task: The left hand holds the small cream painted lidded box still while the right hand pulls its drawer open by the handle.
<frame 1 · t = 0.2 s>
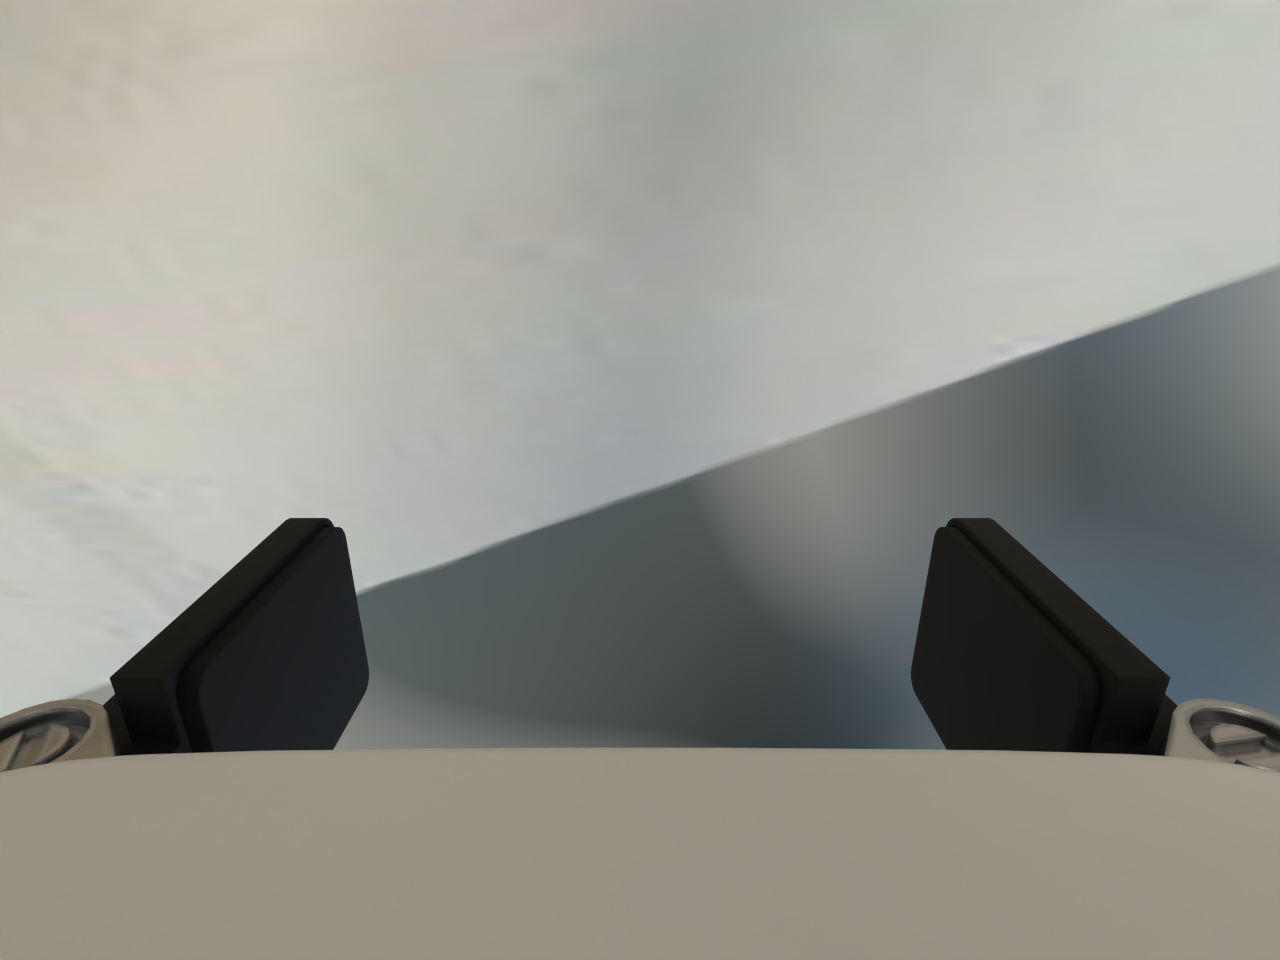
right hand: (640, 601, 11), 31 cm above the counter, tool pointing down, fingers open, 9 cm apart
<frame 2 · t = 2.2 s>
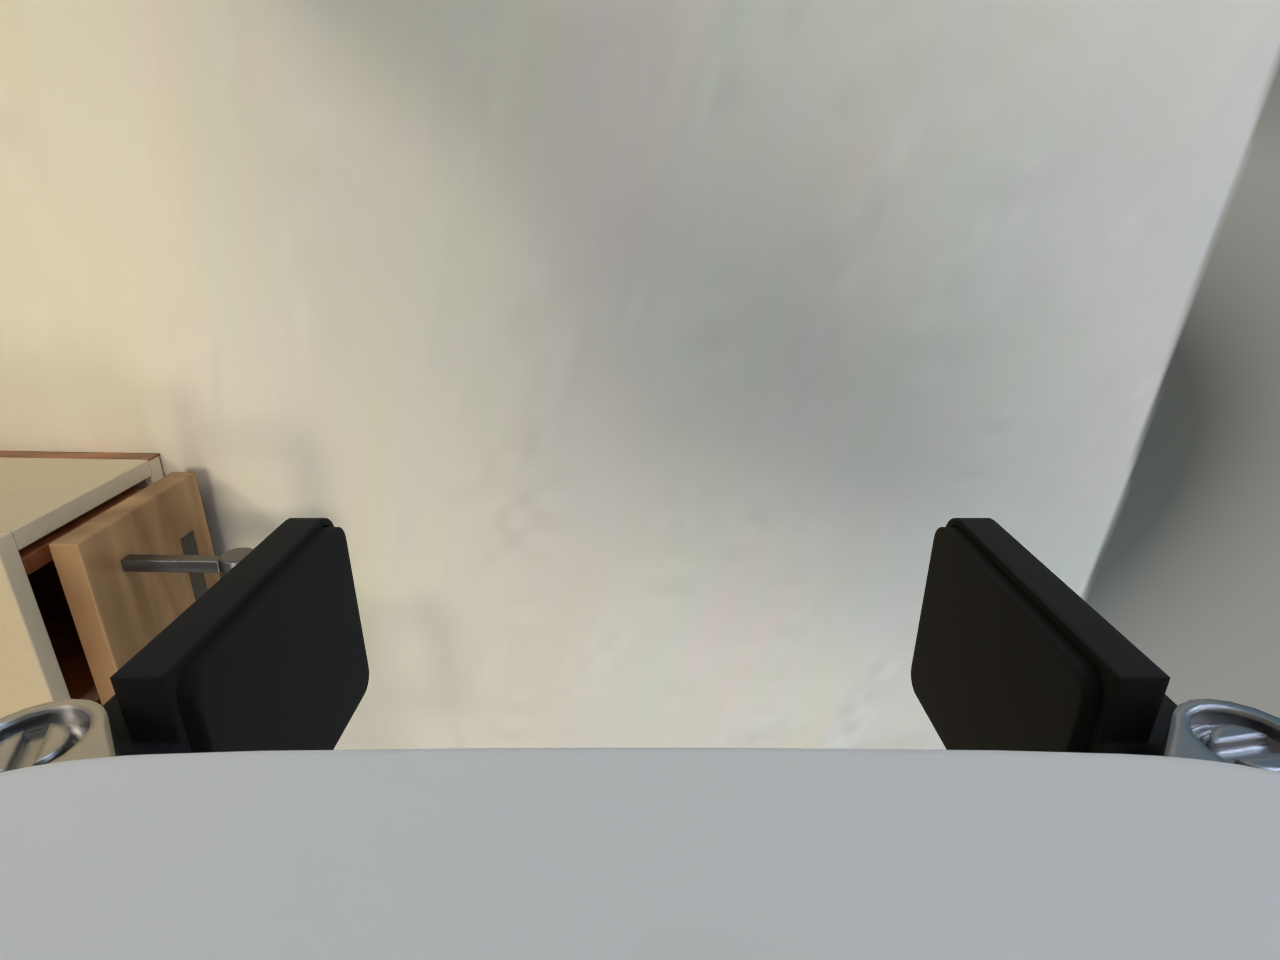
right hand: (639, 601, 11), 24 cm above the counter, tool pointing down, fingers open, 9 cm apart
drawer: (104, 595, 33), point 5 cm above the counter, slide at 1.1 cm
lidded box: (63, 546, 38), on the counter
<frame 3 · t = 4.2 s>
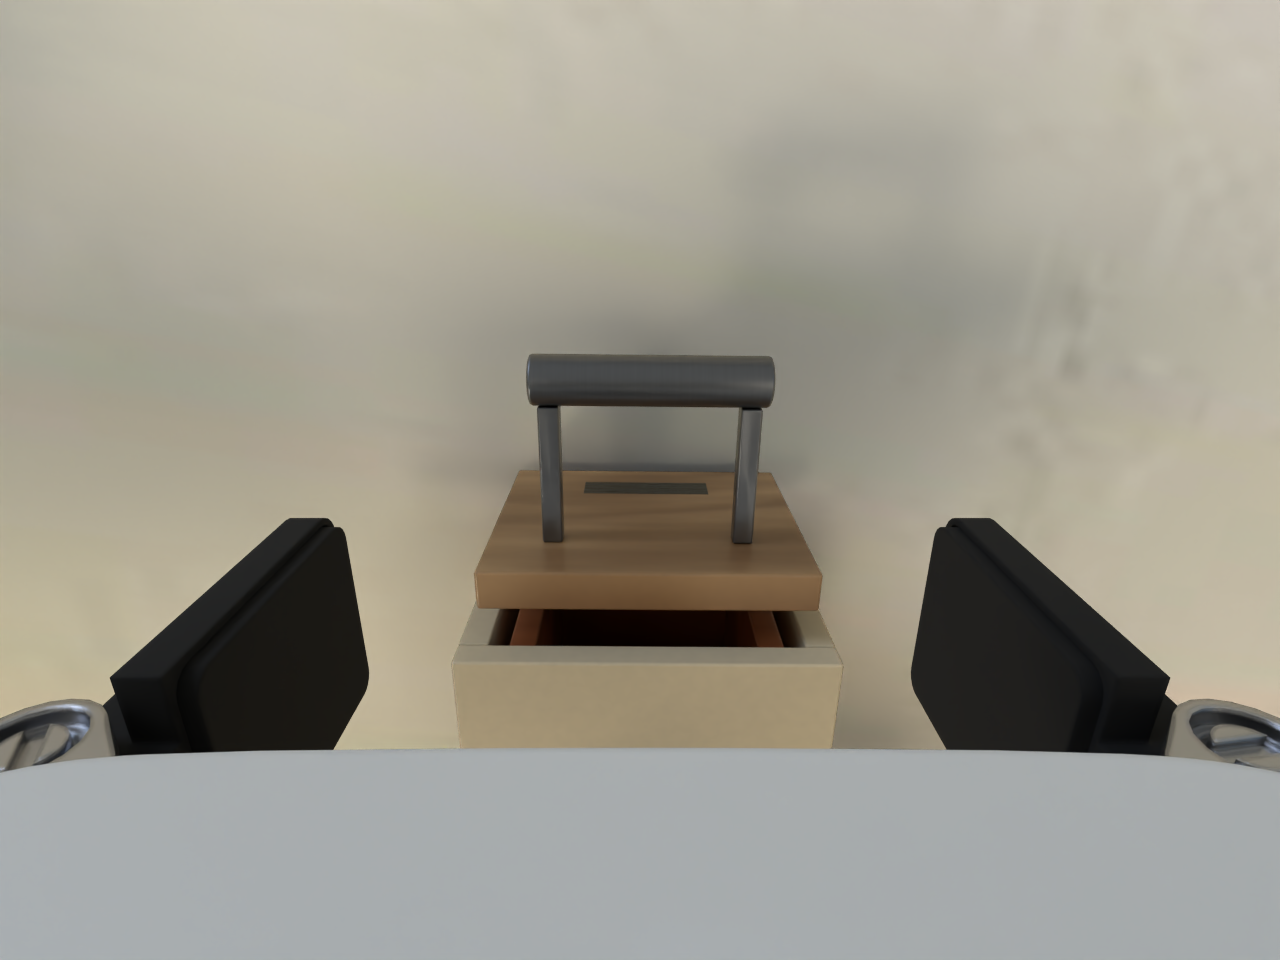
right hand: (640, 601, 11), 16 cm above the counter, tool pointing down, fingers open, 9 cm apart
drawer: (645, 593, 24), point 5 cm above the counter, slide at 1.1 cm
lidded box: (642, 647, 31), on the counter, touching left hand
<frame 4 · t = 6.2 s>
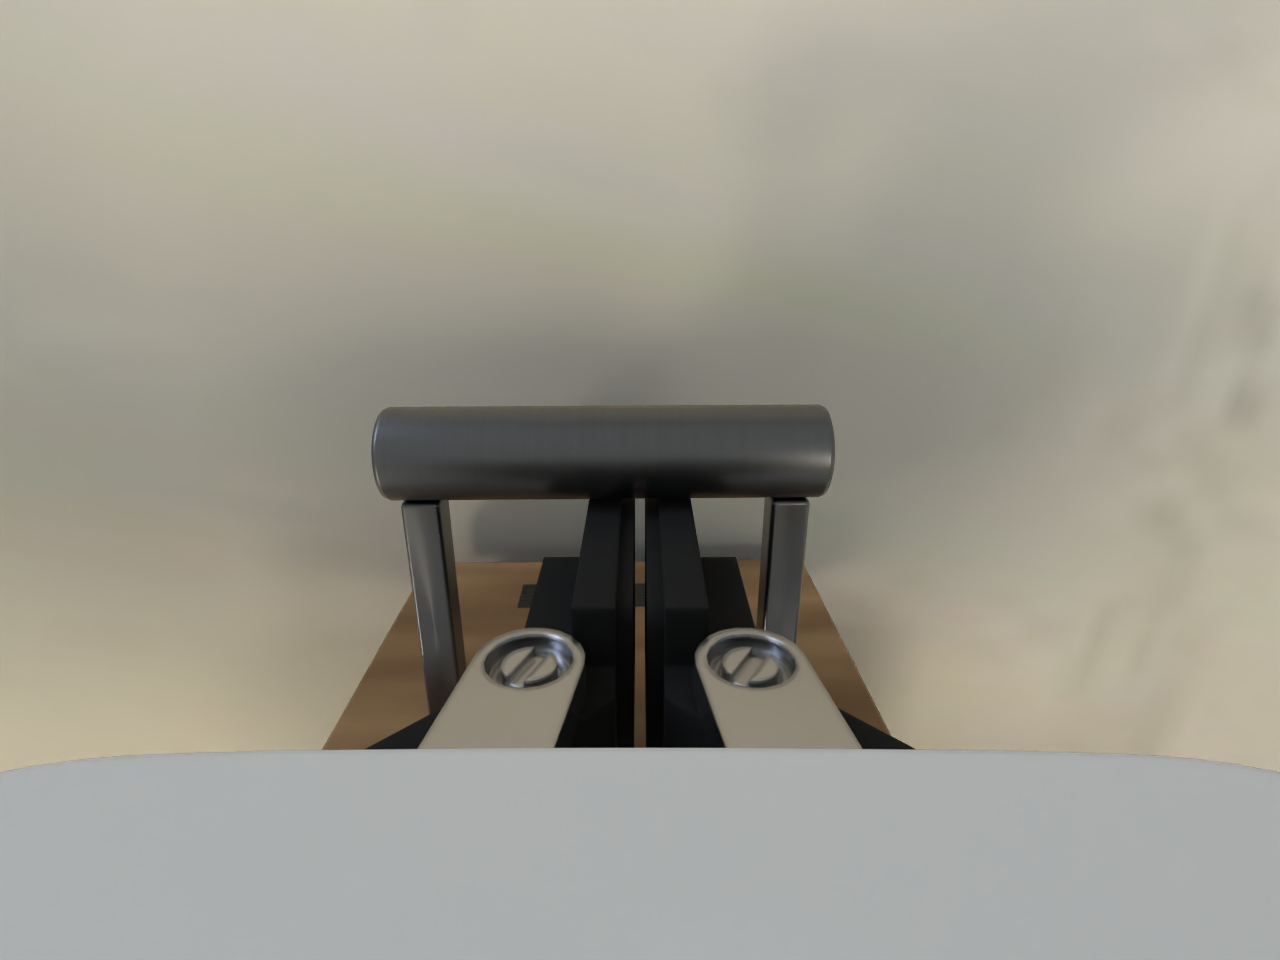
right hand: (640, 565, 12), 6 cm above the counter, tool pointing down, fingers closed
drawer: (614, 767, 15), point 5 cm above the counter, slide at 1.4 cm
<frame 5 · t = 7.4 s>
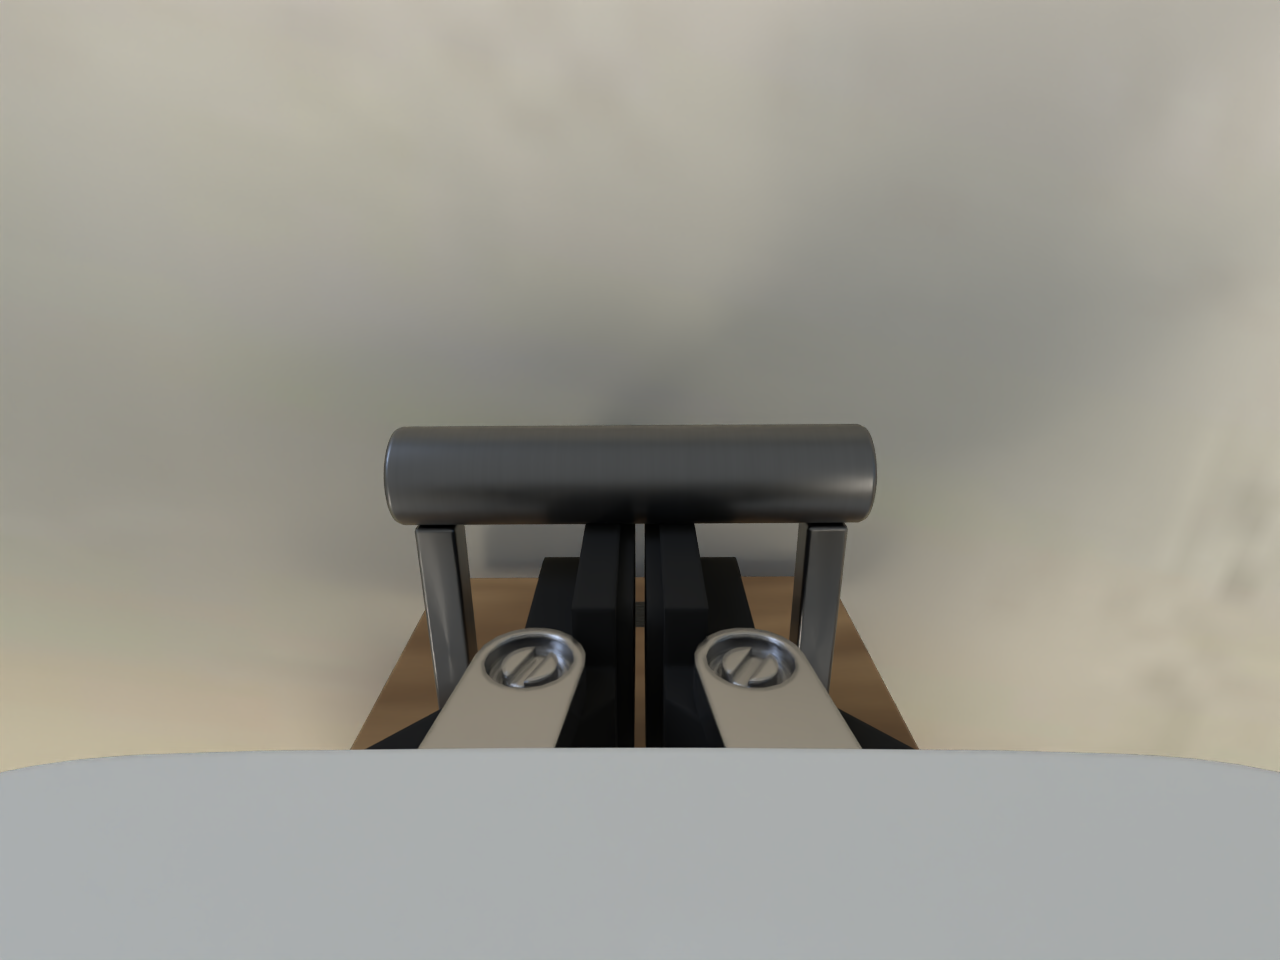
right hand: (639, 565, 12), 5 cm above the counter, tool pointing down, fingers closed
drawer: (635, 795, 15), point 5 cm above the counter, slide at 5.9 cm, touching right hand
when the left hand's fingers open (5 cm above the counter, at t = 9.1 s): lidded box stays where it is, on the counter.
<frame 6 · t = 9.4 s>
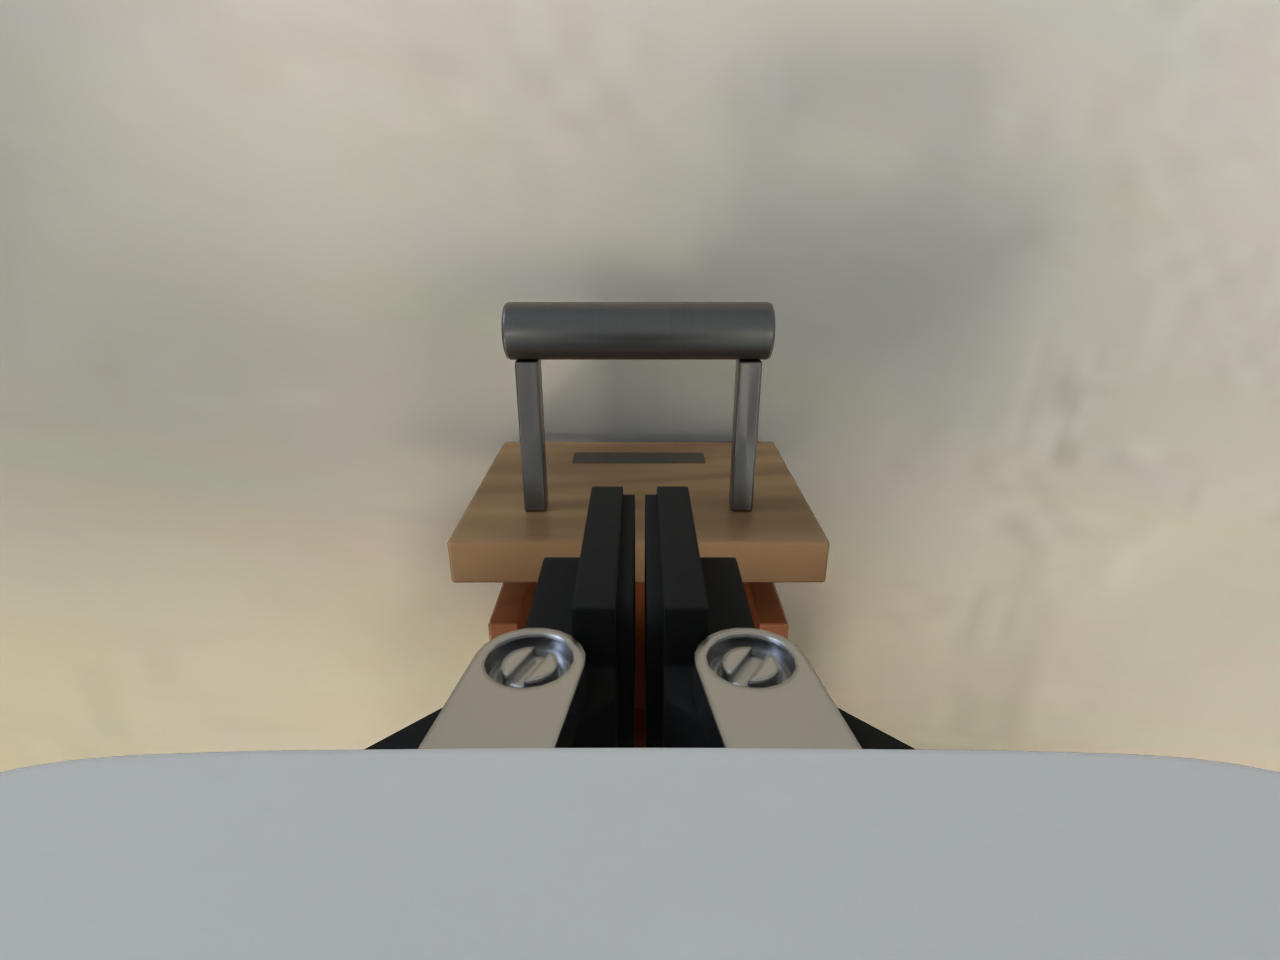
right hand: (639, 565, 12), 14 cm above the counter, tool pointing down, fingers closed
drawer: (638, 570, 22), point 5 cm above the counter, slide at 5.9 cm
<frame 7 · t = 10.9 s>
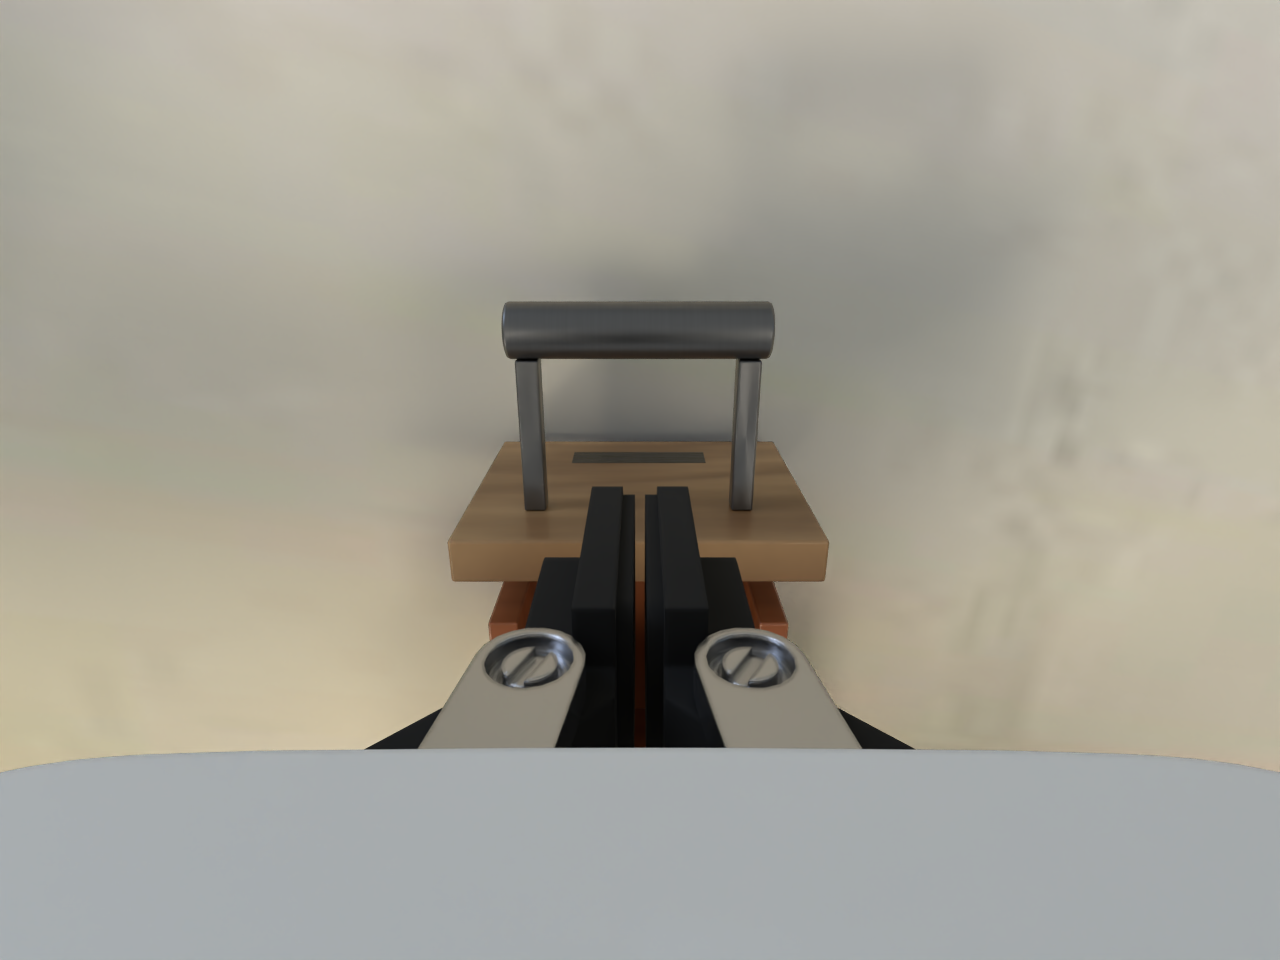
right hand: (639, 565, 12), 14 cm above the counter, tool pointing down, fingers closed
drawer: (638, 569, 22), point 5 cm above the counter, slide at 5.9 cm
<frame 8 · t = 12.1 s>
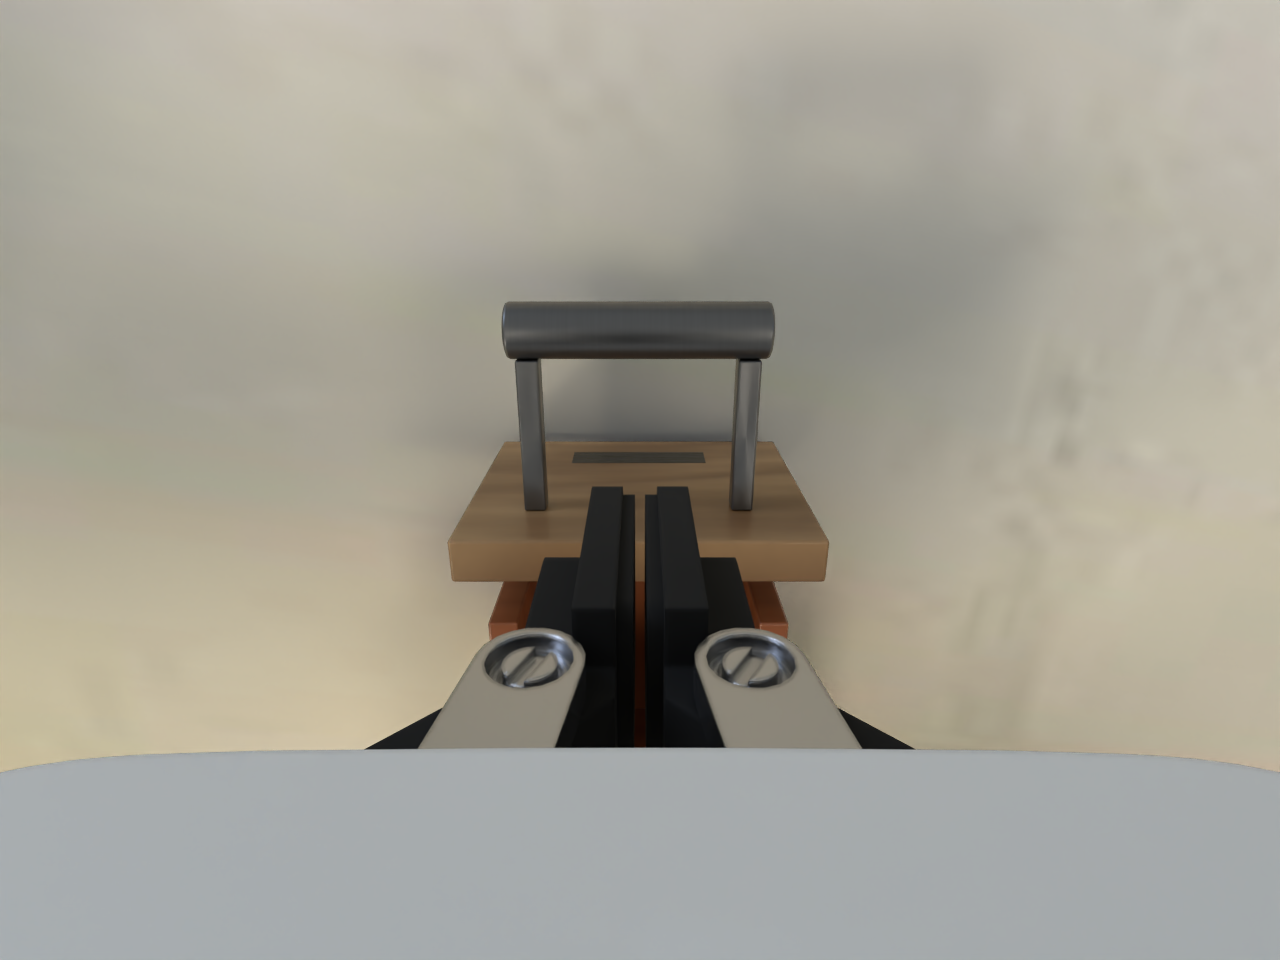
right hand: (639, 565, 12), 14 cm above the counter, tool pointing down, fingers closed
drawer: (638, 569, 22), point 5 cm above the counter, slide at 5.9 cm
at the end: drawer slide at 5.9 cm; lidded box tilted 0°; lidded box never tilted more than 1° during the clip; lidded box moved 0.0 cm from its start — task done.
